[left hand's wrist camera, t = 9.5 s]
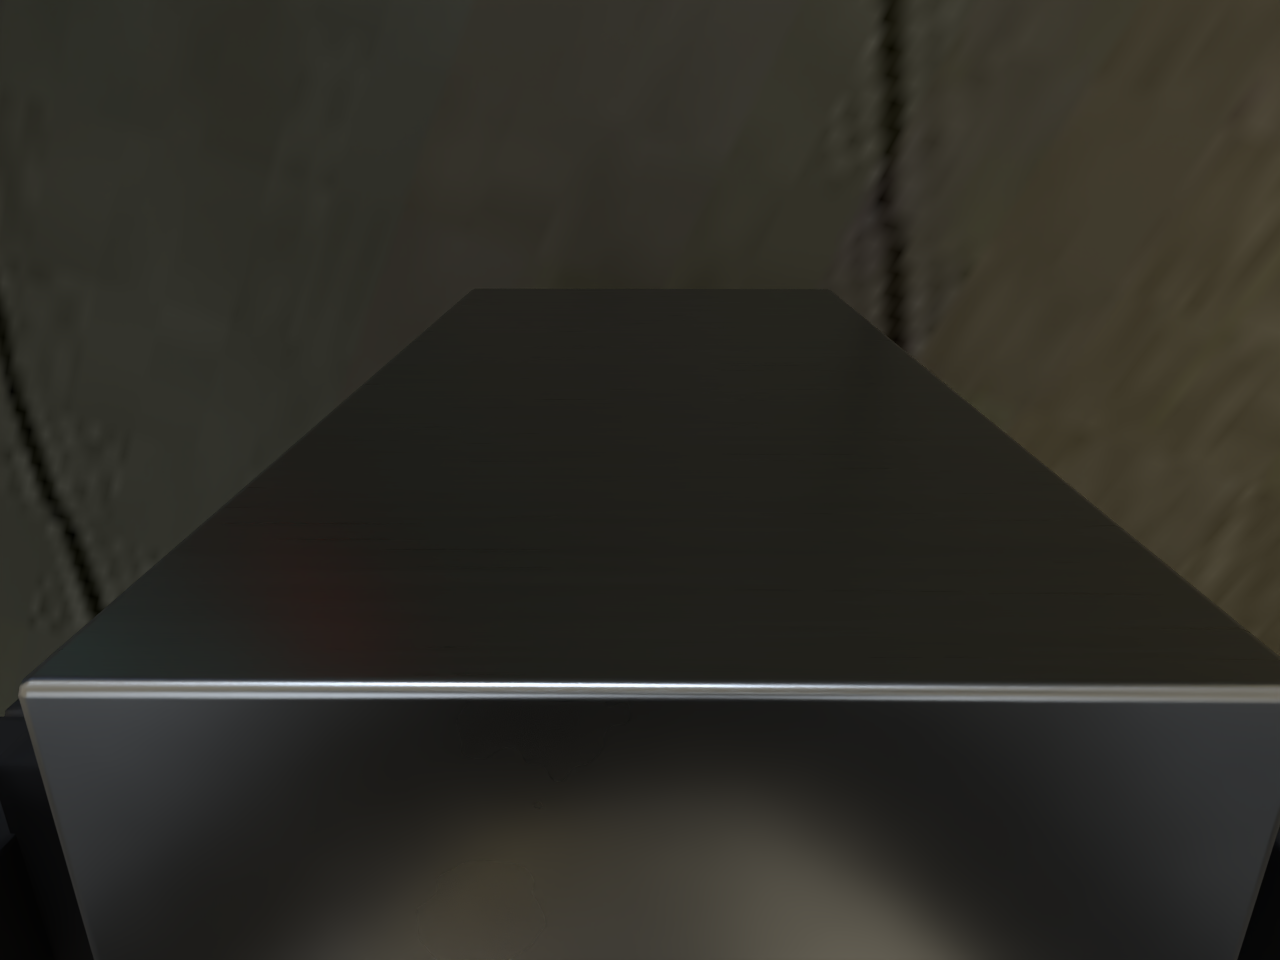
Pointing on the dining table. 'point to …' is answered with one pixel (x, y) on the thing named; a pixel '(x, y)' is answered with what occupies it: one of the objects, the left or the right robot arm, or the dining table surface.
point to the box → (660, 673)
